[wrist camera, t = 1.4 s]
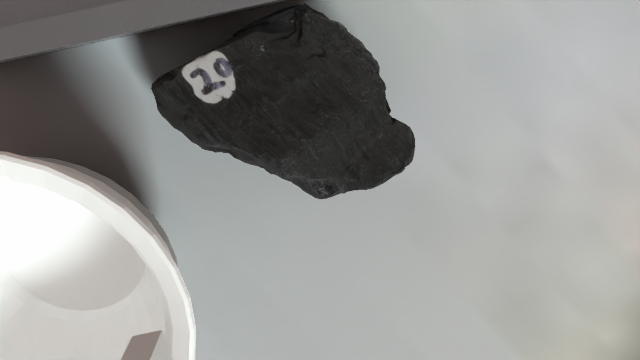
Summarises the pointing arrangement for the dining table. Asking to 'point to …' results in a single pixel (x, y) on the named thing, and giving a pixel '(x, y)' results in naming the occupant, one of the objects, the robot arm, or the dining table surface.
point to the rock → (291, 104)
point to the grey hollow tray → (97, 21)
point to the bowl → (83, 267)
